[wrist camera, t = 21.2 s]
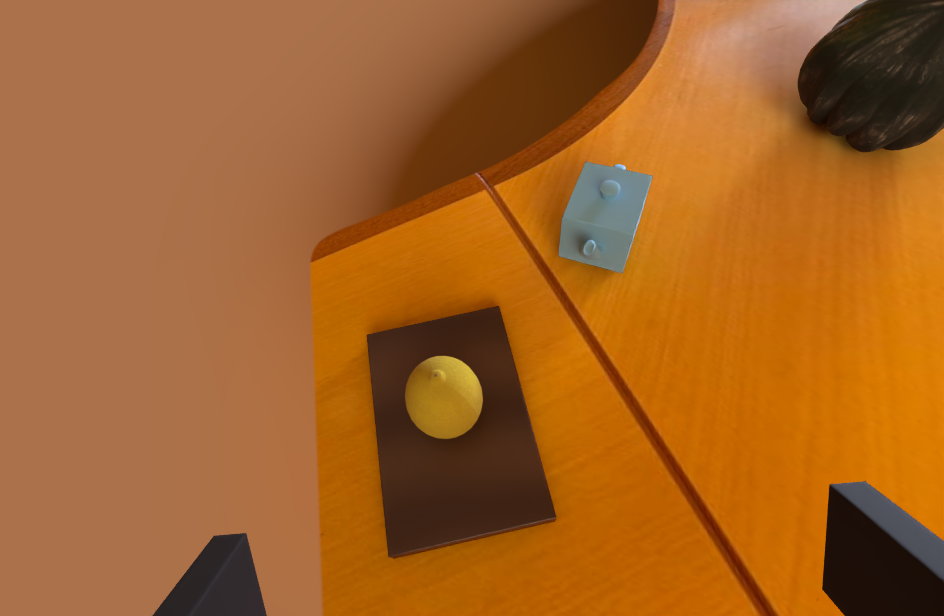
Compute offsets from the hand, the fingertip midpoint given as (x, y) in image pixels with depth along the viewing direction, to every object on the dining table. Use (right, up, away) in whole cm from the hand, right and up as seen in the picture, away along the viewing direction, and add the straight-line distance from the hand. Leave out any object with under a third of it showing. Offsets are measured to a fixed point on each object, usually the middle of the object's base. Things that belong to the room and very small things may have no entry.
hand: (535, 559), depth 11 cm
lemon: (-3, -3, +28) cm, 28 cm away
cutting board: (-3, -4, +29) cm, 29 cm away
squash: (+41, +26, +42) cm, 64 cm away
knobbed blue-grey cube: (+11, +11, +37) cm, 40 cm away
